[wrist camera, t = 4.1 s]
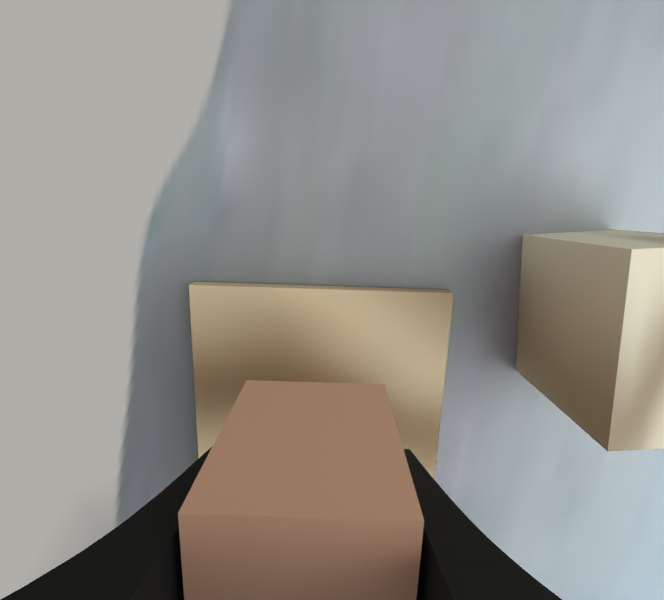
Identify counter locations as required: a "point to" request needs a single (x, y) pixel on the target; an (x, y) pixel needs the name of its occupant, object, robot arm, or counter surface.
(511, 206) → the counter surface
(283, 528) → the terracotta cube
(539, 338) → the beech block
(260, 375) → the cork coaster
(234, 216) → the counter surface
